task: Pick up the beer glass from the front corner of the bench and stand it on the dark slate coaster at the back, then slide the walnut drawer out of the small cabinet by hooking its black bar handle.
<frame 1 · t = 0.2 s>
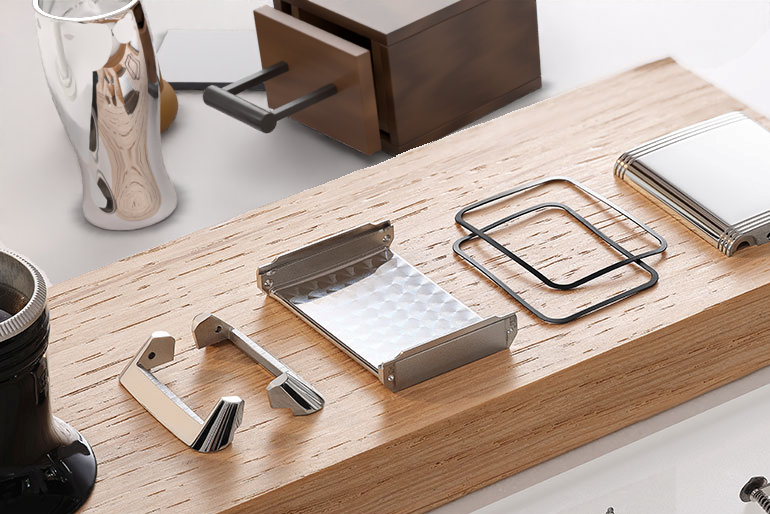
drawer: (343, 67, 144), point 5 cm above the table, slide at 1.0 cm
beer glass: (131, 209, 139), on the table
ornamental finial: (127, 125, 148), on the table
cabinet: (416, 96, 151), on the table
coaster: (231, 63, 155), on the table
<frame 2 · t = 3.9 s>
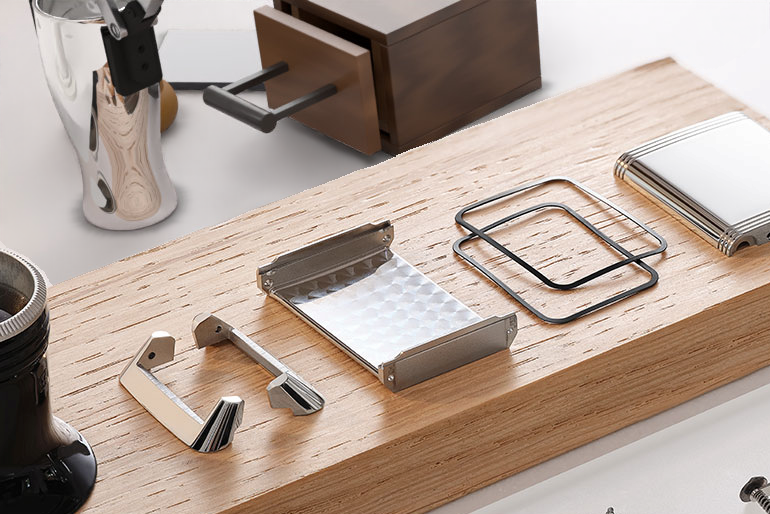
hand: (102, 67, 132), 10 cm above the table, tool pointing down, fingers closed on beer glass, 7 cm apart
beer glass: (131, 209, 139), on the table, touching gripper
everything else where it was.
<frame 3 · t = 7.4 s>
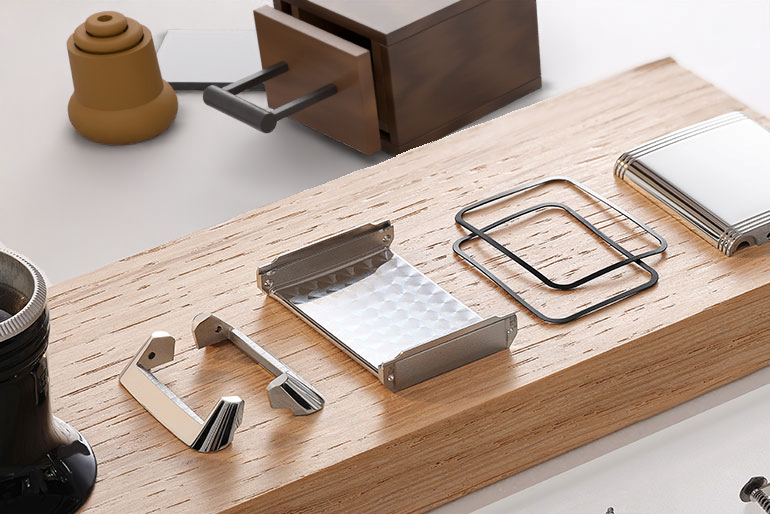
when the fingers open (11 cm above the table, at t = 11.2 s): beer glass stays where it is, resting on coaster.
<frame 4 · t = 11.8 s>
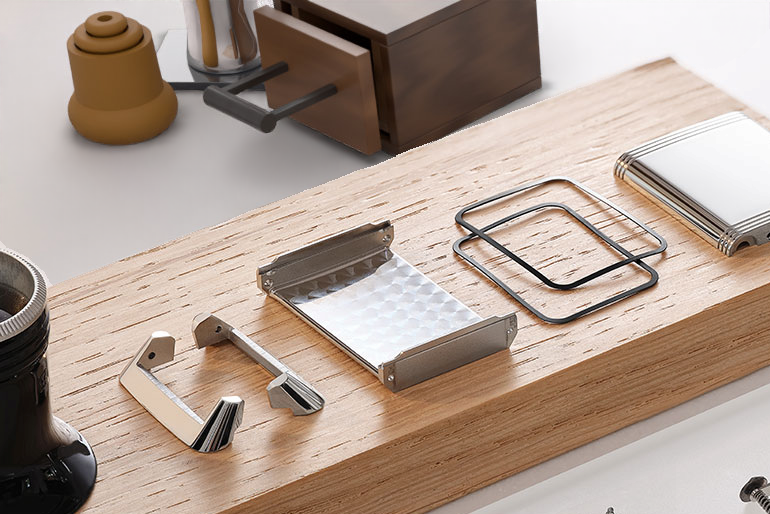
beer glass: (229, 58, 155), resting on coaster
everything else where it was.
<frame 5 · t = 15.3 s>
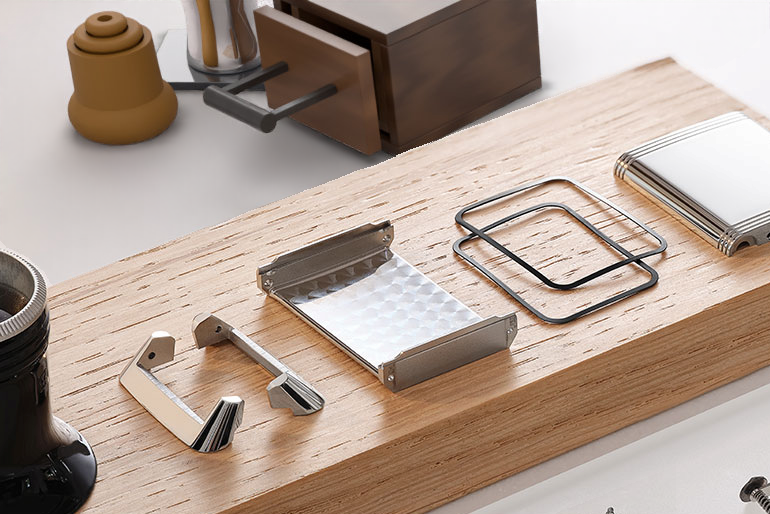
nothing on the table moved.
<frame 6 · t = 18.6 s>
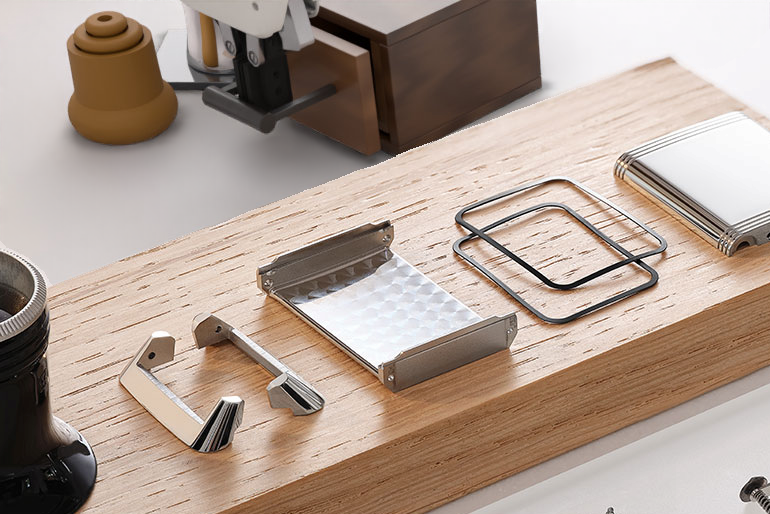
hand: (267, 107, 141), 4 cm above the table, tool pointing down, fingers closed
drawer: (342, 68, 144), point 5 cm above the table, slide at 1.1 cm, touching gripper
everything else where it was.
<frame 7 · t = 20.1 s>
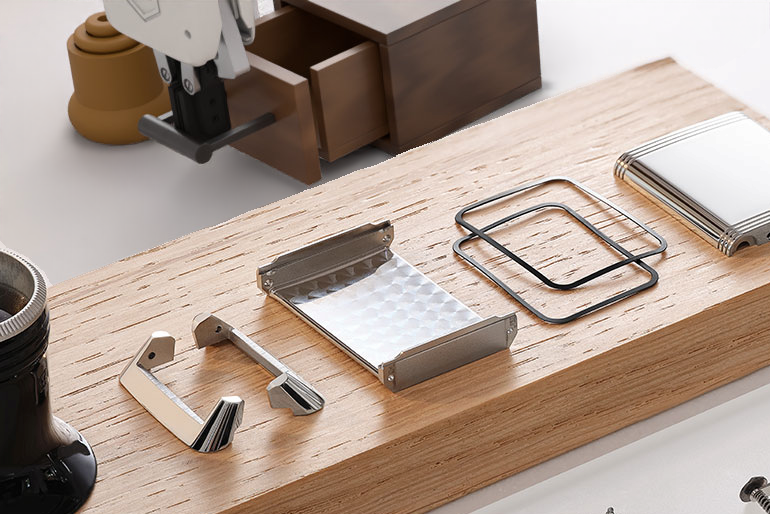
hand: (205, 135, 137), 4 cm above the table, tool pointing down, fingers closed
drawer: (283, 95, 141), point 5 cm above the table, slide at 6.3 cm, touching gripper
everything else where it was.
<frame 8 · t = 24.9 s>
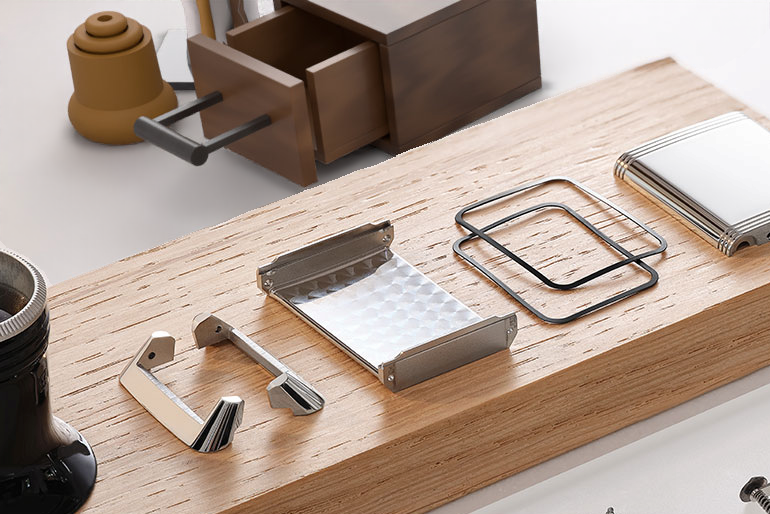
drawer: (279, 97, 141), point 5 cm above the table, slide at 6.6 cm
everything else where it was.
at the end: beer glass 0.1 cm off-centre on the coaster, point 0.4 cm above the coaster's base; beer glass tilted 0°; drawer slide at 6.6 cm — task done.
